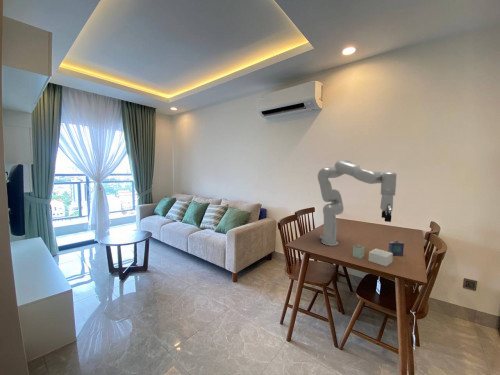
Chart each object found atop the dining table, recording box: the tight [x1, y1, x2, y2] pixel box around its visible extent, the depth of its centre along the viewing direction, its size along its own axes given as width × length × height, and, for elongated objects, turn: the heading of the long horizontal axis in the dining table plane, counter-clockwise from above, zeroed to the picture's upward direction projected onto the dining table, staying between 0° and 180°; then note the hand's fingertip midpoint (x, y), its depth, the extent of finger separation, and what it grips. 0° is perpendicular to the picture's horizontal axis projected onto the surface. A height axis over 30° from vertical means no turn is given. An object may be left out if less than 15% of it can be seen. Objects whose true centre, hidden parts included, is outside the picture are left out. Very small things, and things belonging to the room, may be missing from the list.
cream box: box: [368, 248, 394, 267], centre depth 134 cm, size 10×10×6 cm
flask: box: [387, 239, 405, 257], centre depth 144 cm, size 9×3×11 cm, turn 83°
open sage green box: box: [352, 244, 365, 260], centre depth 141 cm, size 5×5×8 cm
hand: (386, 219), depth 131 cm, fingers open, 9 cm apart
